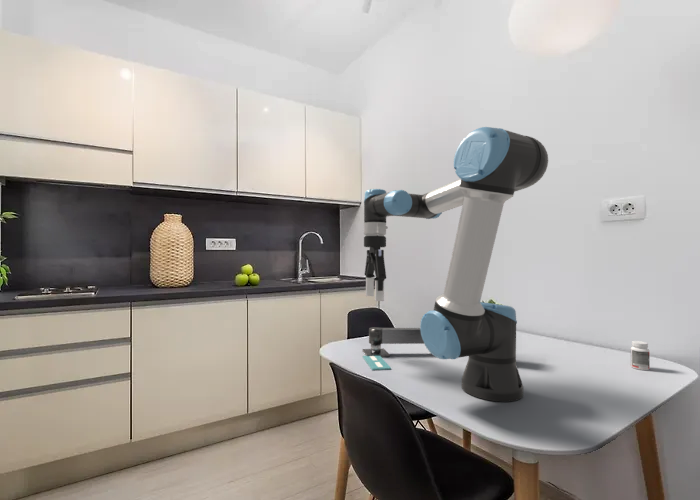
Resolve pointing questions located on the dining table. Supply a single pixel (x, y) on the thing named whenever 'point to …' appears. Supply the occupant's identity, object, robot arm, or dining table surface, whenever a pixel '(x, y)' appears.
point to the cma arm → (395, 336)
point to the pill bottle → (640, 355)
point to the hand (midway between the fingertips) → (374, 298)
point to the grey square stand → (376, 351)
